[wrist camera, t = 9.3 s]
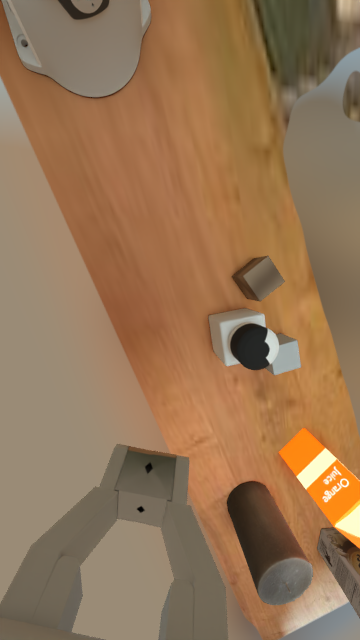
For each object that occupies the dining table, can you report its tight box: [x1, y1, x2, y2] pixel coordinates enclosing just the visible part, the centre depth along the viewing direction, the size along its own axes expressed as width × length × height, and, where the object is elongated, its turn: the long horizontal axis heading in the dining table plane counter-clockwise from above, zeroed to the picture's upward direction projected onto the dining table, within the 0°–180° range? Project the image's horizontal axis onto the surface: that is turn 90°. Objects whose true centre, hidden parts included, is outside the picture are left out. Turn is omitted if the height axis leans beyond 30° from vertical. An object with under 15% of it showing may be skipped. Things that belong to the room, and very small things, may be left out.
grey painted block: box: [265, 333, 301, 375], centre depth 41 cm, size 5×5×5 cm
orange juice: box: [279, 428, 360, 548], centre depth 39 cm, size 8×9×20 cm
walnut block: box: [232, 256, 285, 301], centre depth 38 cm, size 5×5×5 cm
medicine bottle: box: [208, 308, 279, 370], centre depth 36 cm, size 7×7×12 cm
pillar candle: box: [227, 482, 313, 605], centre depth 42 cm, size 10×10×15 cm
